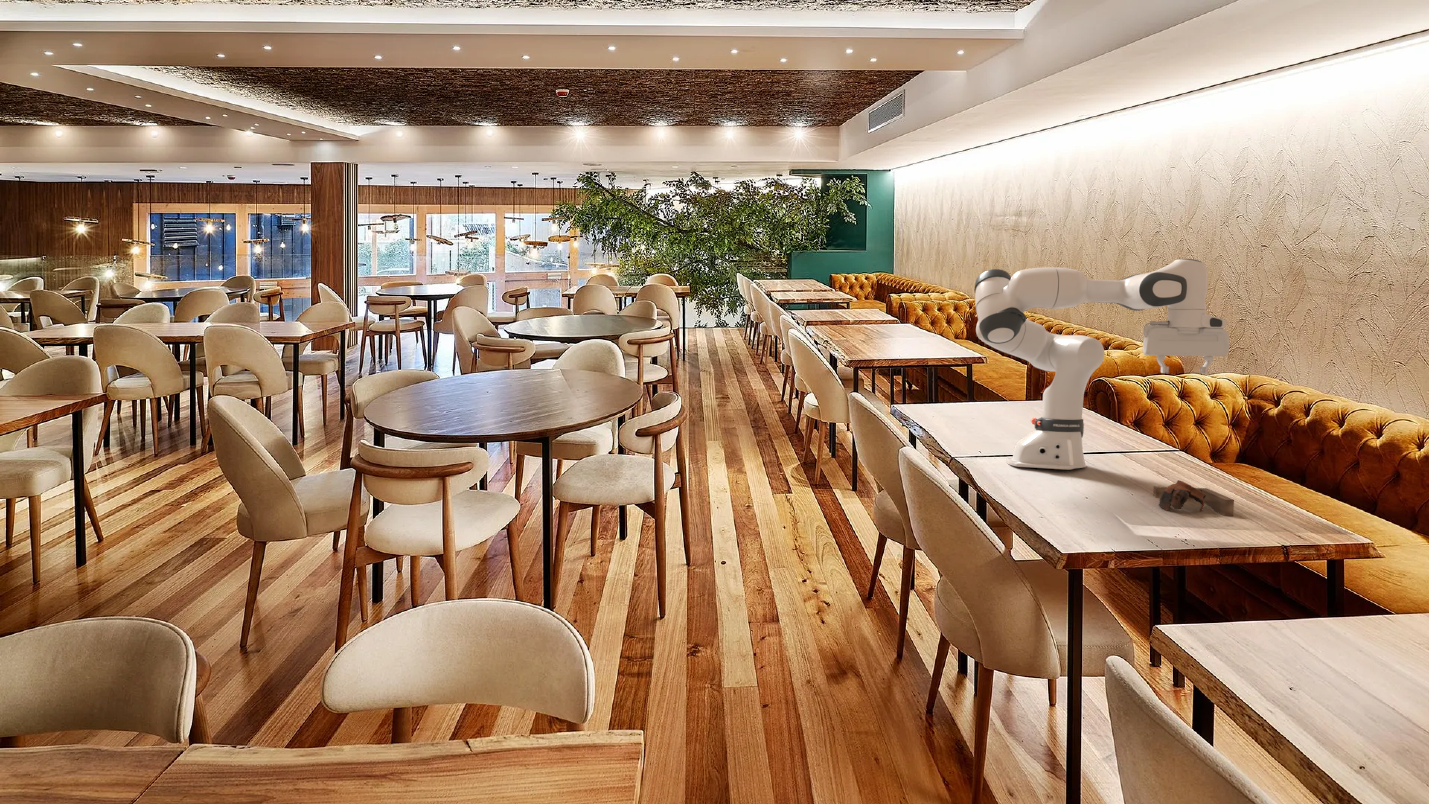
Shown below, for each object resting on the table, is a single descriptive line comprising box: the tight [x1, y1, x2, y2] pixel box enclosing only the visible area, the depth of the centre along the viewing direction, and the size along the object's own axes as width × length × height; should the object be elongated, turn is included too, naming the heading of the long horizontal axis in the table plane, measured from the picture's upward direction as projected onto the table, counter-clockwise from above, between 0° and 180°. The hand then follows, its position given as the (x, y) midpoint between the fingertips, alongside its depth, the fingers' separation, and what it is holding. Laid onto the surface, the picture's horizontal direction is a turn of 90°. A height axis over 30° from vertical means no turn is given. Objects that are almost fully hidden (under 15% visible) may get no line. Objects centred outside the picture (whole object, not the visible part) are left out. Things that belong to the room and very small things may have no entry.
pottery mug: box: [1158, 479, 1206, 512], centre depth 204 cm, size 12×9×8 cm
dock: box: [1152, 485, 1235, 517], centre depth 207 cm, size 13×16×4 cm
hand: (1183, 373), depth 215 cm, fingers open, 8 cm apart
